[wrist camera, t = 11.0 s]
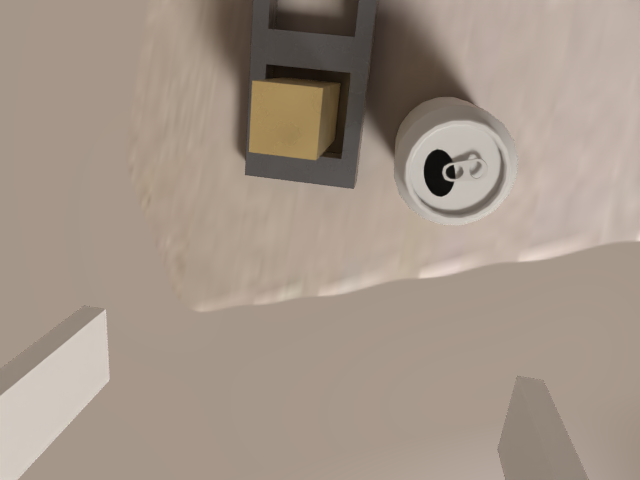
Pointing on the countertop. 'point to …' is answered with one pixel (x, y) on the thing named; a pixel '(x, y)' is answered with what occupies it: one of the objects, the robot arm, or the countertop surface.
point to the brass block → (293, 117)
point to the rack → (318, 55)
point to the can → (453, 161)
